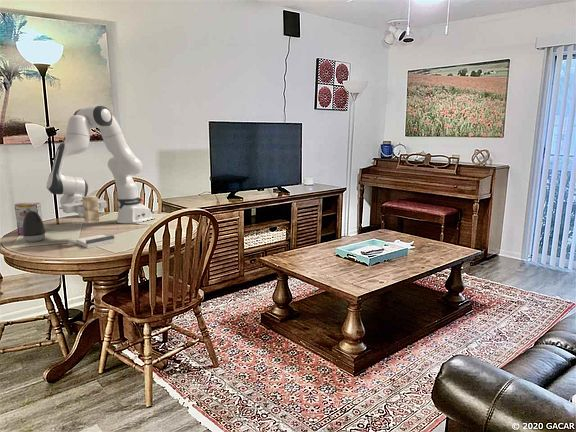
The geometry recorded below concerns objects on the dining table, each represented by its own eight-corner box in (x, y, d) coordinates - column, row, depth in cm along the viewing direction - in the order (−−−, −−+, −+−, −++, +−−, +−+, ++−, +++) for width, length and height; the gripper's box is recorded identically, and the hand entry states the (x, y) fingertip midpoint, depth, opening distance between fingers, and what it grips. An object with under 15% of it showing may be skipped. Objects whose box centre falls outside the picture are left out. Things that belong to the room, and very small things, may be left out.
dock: (102, 238, 220) (101, 231, 220) (114, 242, 212) (113, 235, 211) (76, 243, 211) (75, 236, 210) (87, 248, 202) (87, 241, 202)
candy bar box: (17, 234, 228) (13, 204, 225) (22, 232, 233) (17, 202, 230) (40, 234, 230) (36, 203, 227) (44, 231, 235) (40, 202, 231)
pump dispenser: (37, 237, 223) (33, 208, 220) (51, 239, 219) (47, 209, 216) (18, 241, 214) (14, 211, 211) (32, 244, 210) (28, 213, 207)
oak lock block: (94, 219, 213) (92, 195, 211) (99, 221, 210) (97, 196, 207) (84, 221, 210) (82, 196, 207) (89, 222, 206) (86, 198, 204)
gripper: (56, 201, 209) (68, 204, 200) (98, 196, 224) (111, 199, 214) (58, 214, 210) (69, 217, 201) (99, 208, 225) (112, 211, 216)
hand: (91, 208), depth 208 cm, fingers closed on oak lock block, 5 cm apart
